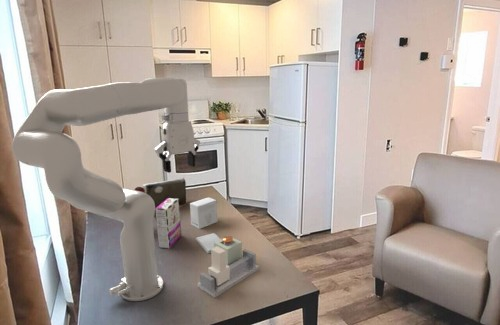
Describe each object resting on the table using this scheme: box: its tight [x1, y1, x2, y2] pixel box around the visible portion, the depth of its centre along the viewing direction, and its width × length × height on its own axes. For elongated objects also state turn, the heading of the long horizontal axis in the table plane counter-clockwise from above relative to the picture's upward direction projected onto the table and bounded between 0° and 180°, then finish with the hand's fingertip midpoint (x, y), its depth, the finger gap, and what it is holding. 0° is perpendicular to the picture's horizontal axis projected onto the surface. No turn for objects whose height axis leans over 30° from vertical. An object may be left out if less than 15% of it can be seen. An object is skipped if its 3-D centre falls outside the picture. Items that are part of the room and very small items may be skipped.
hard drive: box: [195, 232, 221, 254], centre depth 128 cm, size 2×8×12 cm
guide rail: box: [197, 248, 260, 299], centre depth 105 cm, size 20×8×5 cm, turn 137°
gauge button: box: [222, 235, 234, 246], centre depth 115 cm, size 4×4×7 cm
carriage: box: [207, 246, 230, 286], centre depth 101 cm, size 5×4×10 cm
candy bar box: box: [155, 198, 182, 249], centre depth 128 cm, size 11×5×16 cm, turn 168°
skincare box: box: [189, 196, 219, 230], centre depth 145 cm, size 10×6×10 cm, turn 135°
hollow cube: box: [214, 237, 243, 265], centre depth 115 cm, size 7×7×7 cm
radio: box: [142, 177, 188, 215], centre depth 161 cm, size 23×9×15 cm, turn 125°
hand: (179, 168), depth 110 cm, fingers open, 9 cm apart
